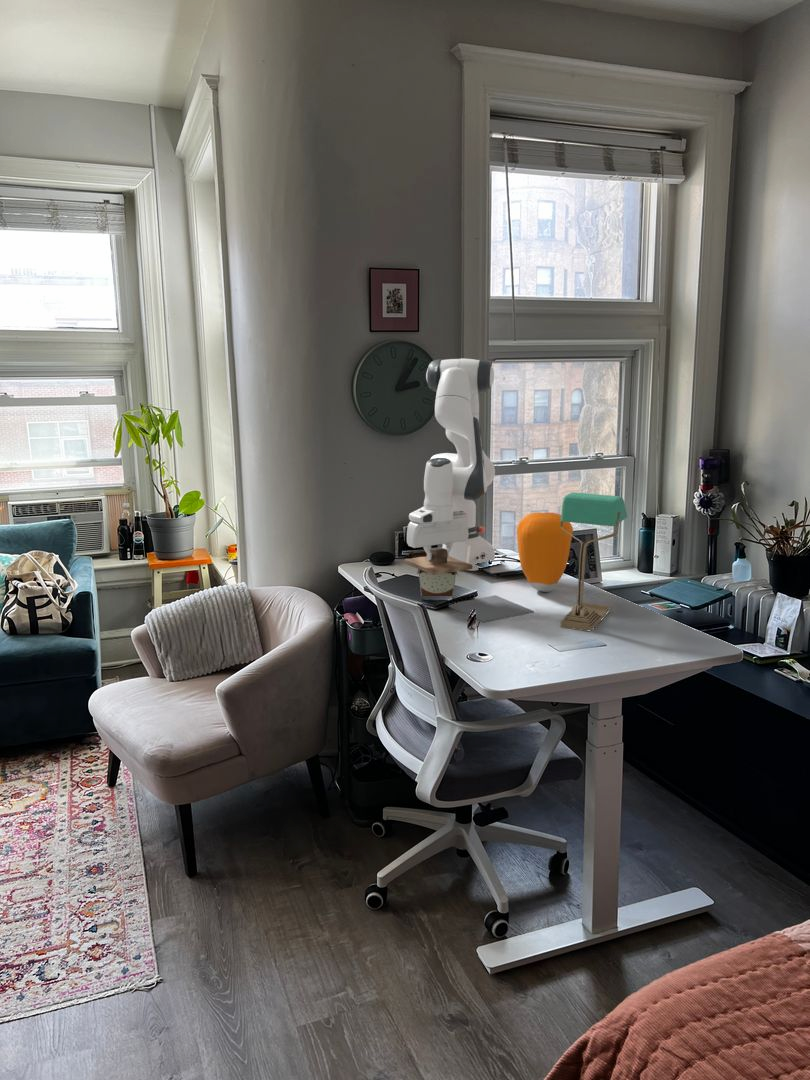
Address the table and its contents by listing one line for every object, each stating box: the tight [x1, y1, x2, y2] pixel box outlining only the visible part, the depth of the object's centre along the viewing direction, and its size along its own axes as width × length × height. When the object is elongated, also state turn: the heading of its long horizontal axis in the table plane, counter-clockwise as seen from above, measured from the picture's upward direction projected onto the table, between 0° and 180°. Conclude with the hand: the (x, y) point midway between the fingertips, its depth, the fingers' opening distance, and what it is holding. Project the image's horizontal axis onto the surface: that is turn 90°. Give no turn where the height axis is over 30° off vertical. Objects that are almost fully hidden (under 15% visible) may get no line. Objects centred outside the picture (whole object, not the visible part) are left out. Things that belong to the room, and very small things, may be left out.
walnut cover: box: [403, 546, 473, 575], centre depth 245 cm, size 14×16×5 cm
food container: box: [416, 569, 459, 597], centre depth 247 cm, size 12×6×10 cm, turn 84°
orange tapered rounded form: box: [516, 512, 574, 593], centre depth 252 cm, size 17×17×25 cm
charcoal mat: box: [448, 595, 535, 623], centre depth 237 cm, size 18×18×1 cm
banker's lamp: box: [560, 492, 628, 632], centre depth 225 cm, size 16×21×35 cm
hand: (437, 558), depth 245 cm, fingers closed on walnut cover, 4 cm apart
